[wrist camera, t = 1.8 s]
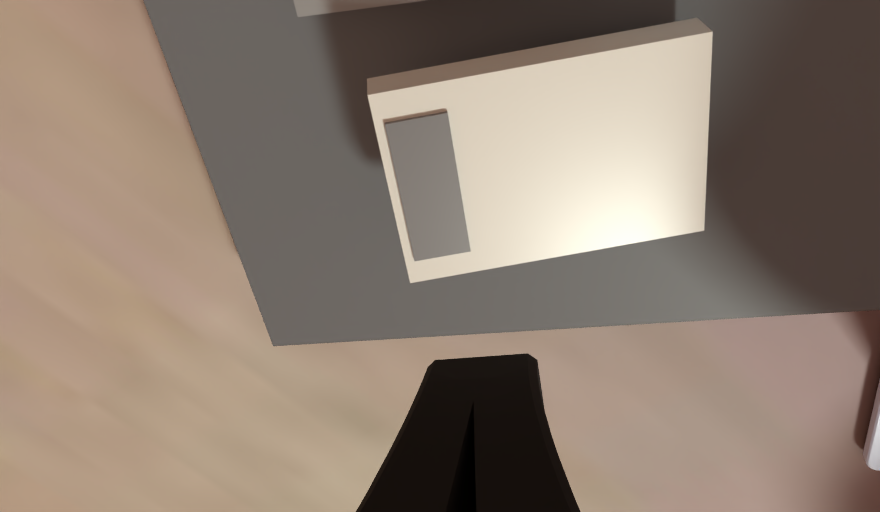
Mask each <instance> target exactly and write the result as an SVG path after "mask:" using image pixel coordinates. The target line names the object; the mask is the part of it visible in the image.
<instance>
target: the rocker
mask: <svg viewBox="0 0 880 512" xmlns="http://www.w3.org/2000/svg"><path fill="white" fill-rule="evenodd" d="M712 36H713V31H712V30H710V29H709V28H708V27H707V26H706V25H705V24H704V23H703V22H702V21H700V20H699V19H698V18H692V19H687V20H682V21H676V22H671V23H665V24H660V25H654V26H649V27H644V28H638V29H633V30H627V31H622V32H617V33H611V34H606V35H600V36H595V37H589V38H584V39H579V40H573V41H568V42H562V43H557V44H552V45H546V46H541V47H535V48H530V49H525V50H519V51H514V52H508V53H503V54H497V55H492V56H487V57H481V58H476V59H470V60H465V61H460V62H454V63H449V64H443V65H438V66H432V67H427V68H422V69H416V70H411V71H405V72H400V73H395V74H389V75H384V76H378V77H373V78H367V96H368V100H369V105H370V109H371V113H372V118H373V122H374V127H375V131H376V135H377V140H378V144H379V149H380V153H381V157H382V162H383V166H384V171H385V175H386V179H387V184H388V188H389V193H390V197H391V201H392V206H393V210H394V214H395V219H396V223H397V228H398V232H399V236H400V241H401V245H402V250H403V254H404V258H405V263H406V267H407V272H408V276H409V280H410V283H414V282H420V281H426V280H431V279H437V278H442V277H448V276H453V275H459V274H465V273H470V272H476V271H481V270H487V269H493V268H498V267H504V266H509V265H515V264H521V263H526V262H532V261H537V260H543V259H549V258H554V257H560V256H565V255H571V254H576V253H582V252H588V251H593V250H599V249H604V248H610V247H616V246H621V245H627V244H632V243H638V242H644V241H649V240H655V239H660V238H666V237H672V236H677V235H683V234H688V233H694V232H700V231H704V224H705V200H706V177H707V154H708V130H709V107H710V83H711V60H712Z"/></svg>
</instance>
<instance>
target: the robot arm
mask: <svg viewBox="0 0 880 512" xmlns="http://www.w3.org/2000/svg"><path fill="white" fill-rule="evenodd" d="M863 458H864V460H865V462H866V464H867V466H868V467H869V468H871V469H873V470H878V471H880V380H879V385H878V389H877V393H876V398H875V402H874V407H873V411H872V415H871V420H870V424H869V429H868V433H867V437H866V442H865V446H864V451H863ZM356 512H580V510H579V507H578V505H577V503H576V500H575V498H574V495H573V493H572V490H571V487H570V485H569V482H568V480H567V477H566V474H565V472H564V469H563V467H562V464H561V461H560V459H559V456H558V453H557V450H556V447H555V444H554V441H553V438H552V435H551V432H550V428H549V425H548V421H547V418H546V415H545V411H544V404H543V397H542V390H541V383H540V376H539V369H538V362H537V359H535V358H534V357H532V356H531V355H529V354H514V355H501V356H487V357H473V358H459V359H445V360H435V361H434V362H433V363H432V364H431V365H430V366H429V367H428V368H427V371H426V373H425V376H424V378H423V381H422V383H421V386H420V388H419V390H418V392H417V395H416V397H415V399H414V401H413V404H412V406H411V408H410V410H409V412H408V414H407V417H406V419H405V421H404V423H403V425H402V427H401V429H400V431H399V433H398V435H397V437H396V439H395V441H394V443H393V445H392V447H391V449H390V451H389V453H388V455H387V456H386V458H385V460H384V462H383V464H382V466H381V468H380V469H379V471H378V473H377V475H376V477H375V479H374V480H373V482H372V484H371V486H370V488H369V490H368V492H367V493H366V495H365V497H364V499H363V500H362V502H361V504H360V506H359V507H358V509H357V511H356Z"/></svg>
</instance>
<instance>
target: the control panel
mask: <svg viewBox="0 0 880 512" xmlns="http://www.w3.org/2000/svg"><path fill="white" fill-rule="evenodd" d="M143 1H144V3H145V6H146V9H147V11H148V14H149V17H150V19H151V22H152V25H153V27H154V30H155V33H156V35H157V38H158V41H159V43H160V46H161V49H162V51H163V54H164V57H165V59H166V62H167V65H168V67H169V70H170V73H171V75H172V78H173V81H174V83H175V86H176V89H177V91H178V94H179V97H180V99H181V102H182V105H183V107H184V110H185V113H186V115H187V118H188V121H189V123H190V126H191V129H192V131H193V134H194V137H195V139H196V142H197V145H198V147H199V150H200V152H201V155H202V158H203V160H204V163H205V166H206V168H207V171H208V174H209V176H210V179H211V182H212V184H213V187H214V190H215V192H216V195H217V198H218V200H219V203H220V206H221V208H222V211H223V214H224V216H225V219H226V222H227V224H228V227H229V230H230V232H231V235H232V238H233V240H234V243H235V246H236V248H237V251H238V254H239V256H240V259H241V262H242V264H243V267H244V270H245V272H246V275H247V278H248V280H249V283H250V286H251V288H252V291H253V294H254V296H255V299H256V302H257V304H258V307H259V310H260V312H261V315H262V317H263V320H264V323H265V325H266V328H267V331H268V333H269V336H270V339H271V341H272V344H273V346H284V345H300V344H317V343H334V342H350V341H367V340H384V339H400V338H417V337H434V336H450V335H467V334H484V333H501V332H517V331H534V330H551V329H567V328H584V327H601V326H617V325H634V324H651V323H667V322H684V321H701V320H717V319H734V318H751V317H767V316H784V315H801V314H818V313H834V312H851V311H868V310H880V0H143ZM692 18H698V19H699V20H700V21H702V22H703V23H704V24H705V25H706V26H707V27H708V28H709V29H710V30H712V31H713V36H712V60H711V83H710V107H709V130H708V154H707V177H706V200H705V224H704V231H700V232H694V233H688V234H683V235H677V236H672V237H666V238H660V239H655V240H649V241H644V242H638V243H632V244H627V245H621V246H616V247H610V248H604V249H599V250H593V251H588V252H582V253H576V254H571V255H565V256H560V257H554V258H549V259H543V260H537V261H532V262H526V263H521V264H515V265H509V266H504V267H498V268H493V269H487V270H481V271H476V272H470V273H465V274H459V275H453V276H448V277H442V278H437V279H431V280H426V281H420V282H414V283H410V280H409V276H408V272H407V267H406V263H405V258H404V254H403V250H402V245H401V241H400V236H399V232H398V228H397V223H396V219H395V214H394V210H393V206H392V201H391V197H390V193H389V188H388V184H387V179H386V175H385V171H384V166H383V162H382V157H381V153H380V149H379V144H378V140H377V135H376V131H375V127H374V122H373V118H372V113H371V109H370V105H369V100H368V96H367V78H373V77H378V76H384V75H389V74H395V73H400V72H405V71H411V70H416V69H422V68H427V67H432V66H438V65H443V64H449V63H454V62H460V61H465V60H470V59H476V58H481V57H487V56H492V55H497V54H503V53H508V52H514V51H519V50H525V49H530V48H535V47H541V46H546V45H552V44H557V43H562V42H568V41H573V40H579V39H584V38H589V37H595V36H600V35H606V34H611V33H617V32H622V31H627V30H633V29H638V28H644V27H649V26H654V25H660V24H665V23H671V22H676V21H682V20H687V19H692Z"/></svg>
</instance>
